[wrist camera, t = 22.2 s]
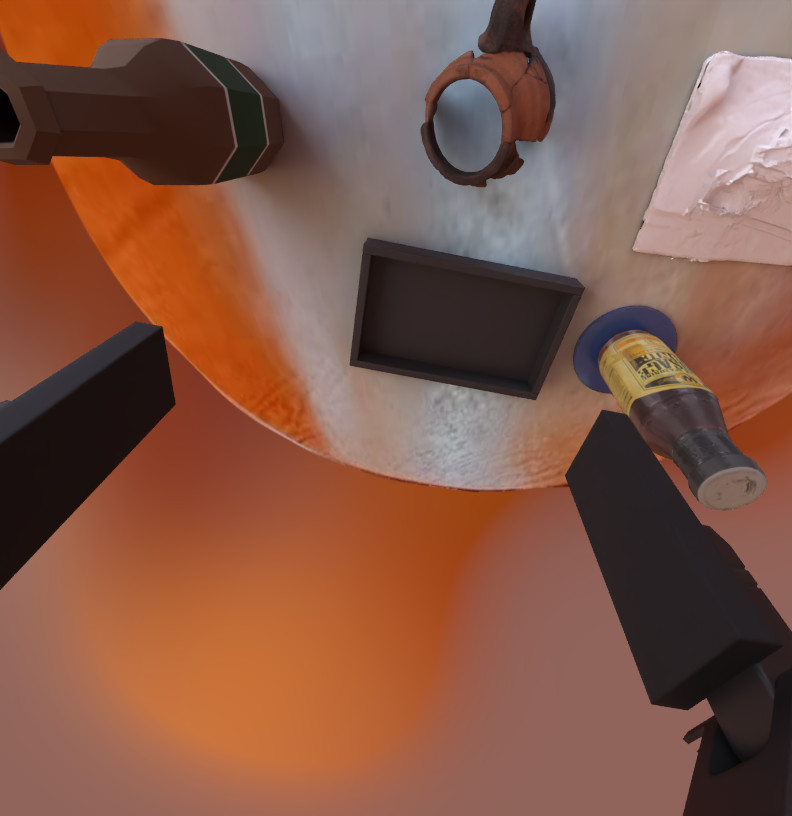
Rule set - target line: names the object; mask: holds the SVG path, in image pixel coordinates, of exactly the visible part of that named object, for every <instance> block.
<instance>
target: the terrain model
mask: <svg viewBox="0 0 792 816" xmlns="http://www.w3.org/2000/svg"><path fill="white" fill-rule="evenodd" d="M709 61H710V62H709ZM708 62H709V64H708V66H707V68H706V71H705V73H704V70H705V67H706V65H707V63H708ZM703 74H704V76H703ZM702 77H703V79H702ZM701 79H702V82H701V85H700V87H699V89H698V88H697V87H698V85H699V83H700V81H701ZM723 207H724V209H722V208H723ZM644 219H645V221H644V222H645V223H644V224H643V226H642V228H641V230H640V228H639V232H638V234H637V237H636V241H635V243H634V246H633V248H632V250H634V251H635V252H639V253H641V252H642V253H648V254H659V255H661V256H662V255H668V256H673V257H674V258H677V257H682V258H685V257H688V258H689V259H690V260H689V262H690V261H691V262H693V261H697V260H698V261H700V262H706V263H707V262H708V261H710V260H718V261H722V260H725V261H728V260H732V261H741V262H751V263H765V264H775V265H782V266H783V265H788V266H792V60H791V59H786V58H783V59H782V58H778V57H770V56H768V57H766V56H761V57H760V56H758V57H757V58H755V57H748V56H746V57H742V55H741V56H740V55H735V54H732V53H731V52H729V51H722V50H721V51H720V52H719V53H717V54H714V55H713V57H712V56H710V57H709V58H708V59H707V60H706V61H704V65H703V67H702V71H701V72H700V74H699V77H698V79H697V83H696V86H695V87H694V89H693V93H692V95H691V98H690V100H689V102H688V104H687V107H686V110H685V112H684V115H683V118H682V120H681V123H680V126H679V128H678V131H677V133H676V136H675V138H674V141H673V143H672V147H671V149H670V151H669V153H668V155H667V158H666V160H665V164H664V166H663V171H662V172H661V174H660V177H659V179H658V183H657V187H656V188H655V190H654V191H653V196H652V199H651V201H650V205H649V208H648V209H647V210H646V211H645V214H644V217H643V220H644ZM643 220H642V222H643ZM640 227H641V226H640ZM674 258H671V259H674ZM688 258H687V259H688Z"/></svg>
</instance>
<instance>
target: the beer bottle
mask: <svg viewBox="0 0 792 816" xmlns="http://www.w3.org/2000/svg"><path fill="white" fill-rule="evenodd" d="M283 143H284V139H283V131H282V123H281V116H280V108H279V100H278V99H277V98H276V97H275V96H274V94H273V93H272V92H271V91H270V90H269V89H268V88H267V87H266V86H265V85H264V84H263V82H262V81H261V80H260V79H259V78H258V77H257V76H256V75H255V74H254V73H253V72H252V70H251V69H250V68H249V67H247V66H245V65H243V64H242V63H240V62H237V61H234V60H231V59H228V58H225V57H223V56H220V55H217V54H214V53H211V52H209V51H206V50H203V49H200V48H197V47H194V46H192V45H189V44H186V43H183V42H180V41H175V40H169V39H163V38H148V39H110V40H109V41H107V42H105V43H104V44H102V45H101V46H99V48H98V50H97V53H96V55H95V57H94V60H93V62H92V65H91V67H74V66H62V65H49V64H36V63H24V62H15V61H14V60H13V59H12V58H11V57H10V56H9V55H7V54H6V53H5V52H4V51H3V50H2V49H0V161H3V162H7V163H11V164H14V165H49V164H50V161H51V159H52V156H76V157H107V158H111V159H116V160H120V161H121V162H122V163H123V164H124V165H125V166H127V167H128V168H129V169H130V170H131V171H132V172H133V173H135V174H136V175H137V176H138V177H139V178H141V179H143V180H145V181H147V182H149V183H151V184H153V185H209V184H215V183H219V182H224V181H228V180H232V179H236V178H240V177H244V176H249V175H253V174H257V173H260V172H262V171H264V170H265V169H266V168H267V166H268V165H269V164H270V162H271V161H272V159H273V158H274V156H275V155H276V153H277V152H278V150H279V149H280V148H281V146H282V145H283Z"/></svg>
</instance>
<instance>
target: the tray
mask: <svg viewBox="0 0 792 816" xmlns="http://www.w3.org/2000/svg"><path fill="white" fill-rule="evenodd" d="M584 289H585V287H584V286H583V285H582V284H581V283H580V282H579V281H578V280H577V279H575V278H570V277H565V276H560V275H555V274H549V273H544V272H539V271H534V270H529V269H524V268H519V267H514V266H509V265H504V264H499V263H494V262H488V261H483V260H478V259H473V258H468V257H463V256H458V255H453V254H448V253H443V252H438V251H433V250H427V249H422V248H417V247H412V246H407V245H402V244H397V243H392V242H387V241H382V240H377V239H372V238H367V240H366V242H365V244H364V247H363V255H362V263H361V272H360V280H359V289H358V298H357V306H356V315H355V323H354V332H353V340H352V349H351V357H350V366H355V367H360V368H366V369H371V370H376V371H382V372H387V373H392V374H398V375H403V376H408V377H414V378H419V379H425V380H430V381H435V382H441V383H446V384H451V385H457V386H462V387H467V388H473V389H478V390H484V391H489V392H494V393H500V394H505V395H510V396H516V397H521V398H526V399H532V400H536V398H537V396H538V394H539V392H540V389H541V387H542V385H543V383H544V380H545V378H546V376H547V373H548V371H549V369H550V367H551V364H552V362H553V360H554V358H555V355H556V353H557V351H558V348H559V346H560V344H561V342H562V339H563V337H564V335H565V333H566V330H567V328H568V326H569V323H570V321H571V319H572V317H573V314H574V312H575V310H576V308H577V305H578V303H579V301H580V299H581V296H582V294H583V292H584Z"/></svg>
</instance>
